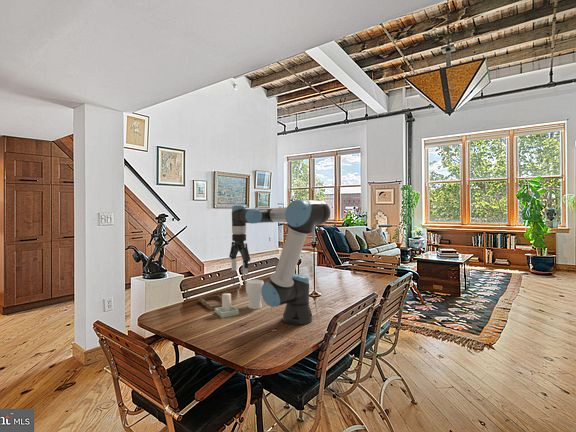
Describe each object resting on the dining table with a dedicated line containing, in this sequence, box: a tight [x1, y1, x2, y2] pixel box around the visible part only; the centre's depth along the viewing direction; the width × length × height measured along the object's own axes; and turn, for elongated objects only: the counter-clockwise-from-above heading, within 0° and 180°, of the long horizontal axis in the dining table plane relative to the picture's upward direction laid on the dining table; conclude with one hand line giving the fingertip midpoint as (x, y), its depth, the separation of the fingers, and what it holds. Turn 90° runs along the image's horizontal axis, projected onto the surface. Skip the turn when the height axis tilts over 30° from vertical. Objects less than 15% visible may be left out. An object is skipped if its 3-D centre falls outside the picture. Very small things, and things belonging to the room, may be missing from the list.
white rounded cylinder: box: [221, 292, 232, 312], centre depth 181 cm, size 5×5×10 cm
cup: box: [245, 279, 265, 310], centre depth 193 cm, size 11×11×15 cm
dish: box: [214, 304, 240, 319], centre depth 181 cm, size 10×10×2 cm
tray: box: [198, 294, 222, 312], centre depth 197 cm, size 21×12×3 cm, turn 32°
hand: (239, 272), depth 185 cm, fingers open, 13 cm apart
